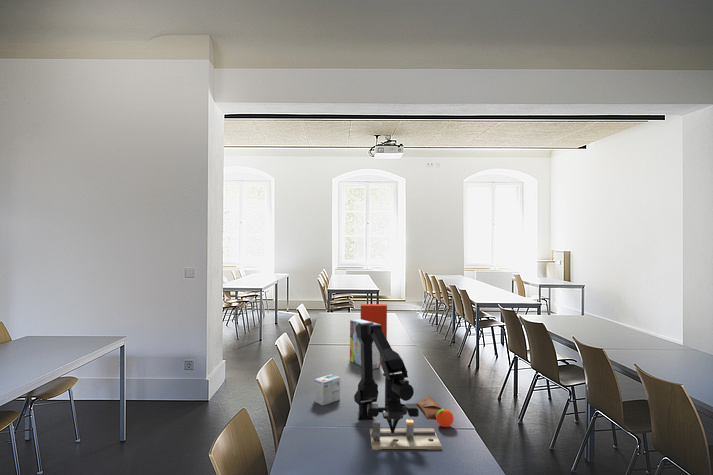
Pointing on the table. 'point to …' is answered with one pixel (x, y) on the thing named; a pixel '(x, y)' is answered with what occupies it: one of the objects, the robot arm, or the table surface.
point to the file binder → (375, 315)
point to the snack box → (356, 346)
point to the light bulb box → (327, 389)
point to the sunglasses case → (428, 407)
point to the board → (402, 438)
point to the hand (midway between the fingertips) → (392, 433)
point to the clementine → (444, 417)
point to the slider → (409, 429)
